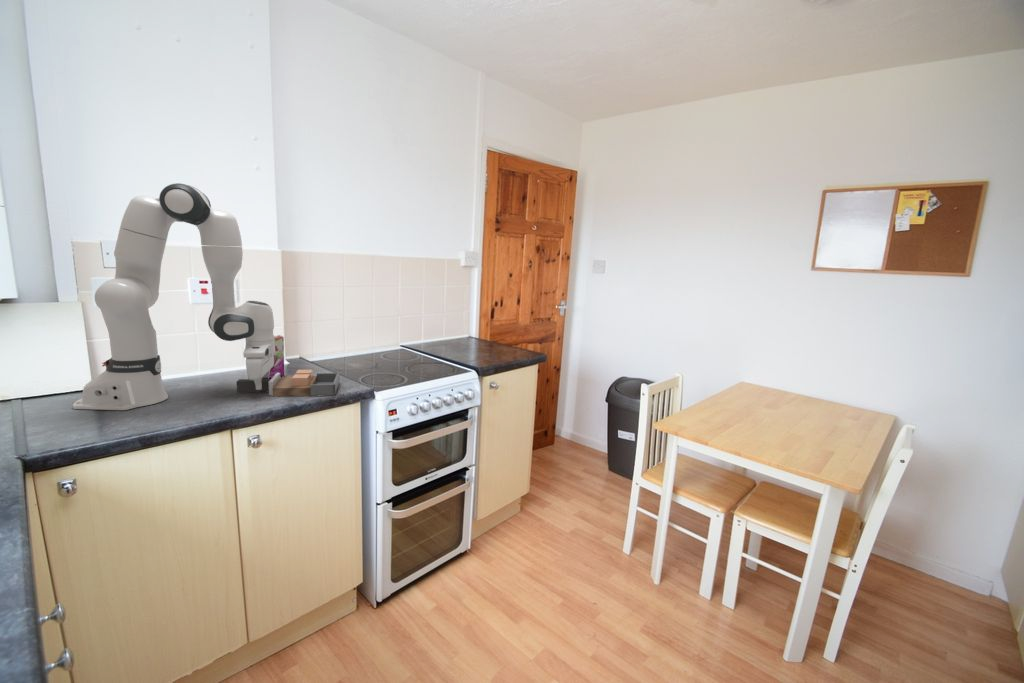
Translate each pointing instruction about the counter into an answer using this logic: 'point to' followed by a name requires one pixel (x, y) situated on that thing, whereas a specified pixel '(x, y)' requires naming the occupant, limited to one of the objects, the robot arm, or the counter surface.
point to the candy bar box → (278, 357)
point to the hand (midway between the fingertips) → (262, 385)
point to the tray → (325, 384)
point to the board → (292, 387)
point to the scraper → (250, 386)
